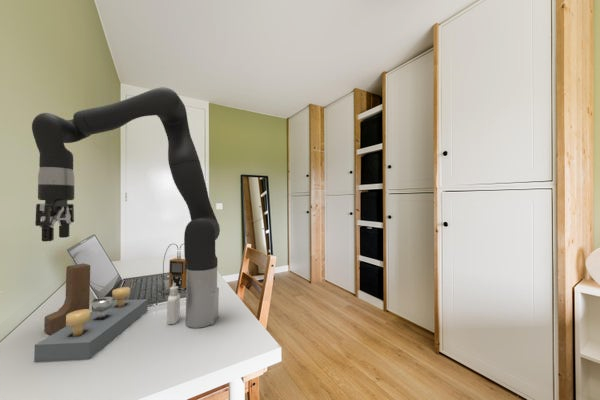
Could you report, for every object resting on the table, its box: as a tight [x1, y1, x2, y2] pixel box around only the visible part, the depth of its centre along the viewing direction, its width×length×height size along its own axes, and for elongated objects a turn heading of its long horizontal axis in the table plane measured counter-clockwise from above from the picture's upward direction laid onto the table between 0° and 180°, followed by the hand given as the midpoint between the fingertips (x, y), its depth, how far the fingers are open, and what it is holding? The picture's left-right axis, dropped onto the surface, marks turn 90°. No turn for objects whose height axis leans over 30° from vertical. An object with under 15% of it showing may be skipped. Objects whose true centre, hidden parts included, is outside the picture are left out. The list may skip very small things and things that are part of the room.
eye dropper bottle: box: [166, 283, 181, 325], centre depth 76 cm, size 4×6×12 cm
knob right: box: [111, 286, 131, 307], centre depth 78 cm, size 5×5×6 cm
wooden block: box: [43, 263, 91, 336], centre depth 72 cm, size 9×4×18 cm, turn 153°
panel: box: [33, 298, 149, 363], centre depth 69 cm, size 12×26×4 cm, turn 6°
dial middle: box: [91, 296, 114, 320], centre depth 70 cm, size 5×5×6 cm
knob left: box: [66, 308, 92, 337], centre depth 61 cm, size 5×5×6 cm
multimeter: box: [162, 243, 187, 288], centre depth 101 cm, size 15×10×20 cm
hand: (56, 239), depth 70 cm, fingers open, 8 cm apart
